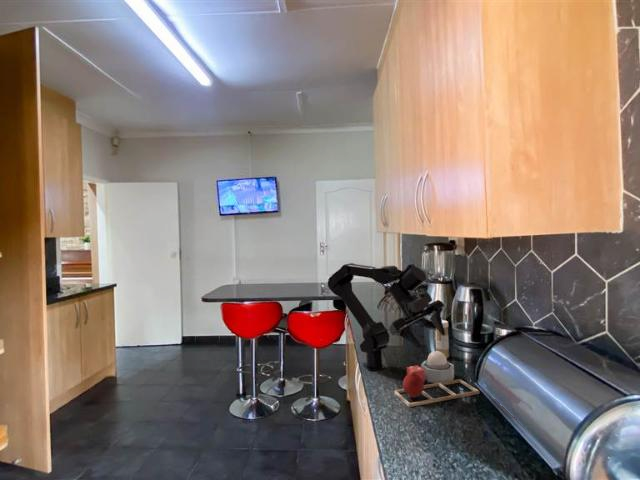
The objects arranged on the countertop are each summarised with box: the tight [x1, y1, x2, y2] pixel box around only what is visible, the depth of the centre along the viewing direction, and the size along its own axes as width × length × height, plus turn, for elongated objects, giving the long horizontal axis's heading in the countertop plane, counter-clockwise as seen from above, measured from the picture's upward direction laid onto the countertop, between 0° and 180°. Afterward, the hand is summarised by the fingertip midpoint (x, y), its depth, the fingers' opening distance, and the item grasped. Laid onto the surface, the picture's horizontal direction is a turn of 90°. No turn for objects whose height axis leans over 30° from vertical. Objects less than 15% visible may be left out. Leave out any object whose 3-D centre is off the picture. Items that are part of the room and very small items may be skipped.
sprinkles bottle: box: [435, 319, 450, 359], centre depth 138 cm, size 5×5×13 cm
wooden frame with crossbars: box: [393, 378, 480, 408], centre depth 108 cm, size 9×23×1 cm, turn 105°
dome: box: [425, 350, 450, 370], centre depth 119 cm, size 7×7×6 cm
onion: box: [402, 370, 425, 399], centre depth 106 cm, size 6×6×8 cm
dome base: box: [406, 360, 455, 384], centre depth 119 cm, size 10×15×4 cm, turn 105°
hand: (432, 341), depth 112 cm, fingers open, 9 cm apart
